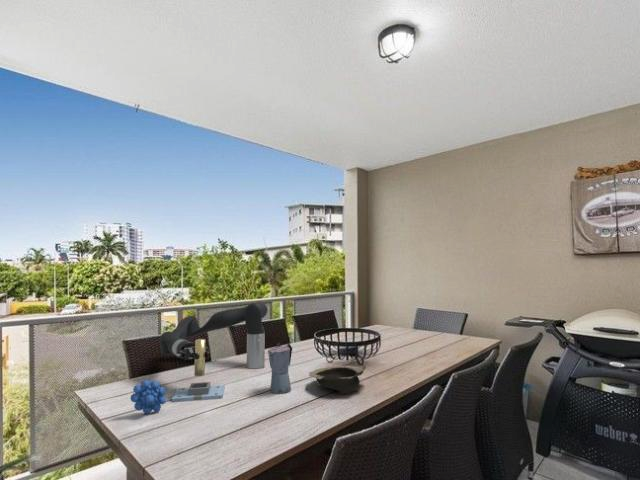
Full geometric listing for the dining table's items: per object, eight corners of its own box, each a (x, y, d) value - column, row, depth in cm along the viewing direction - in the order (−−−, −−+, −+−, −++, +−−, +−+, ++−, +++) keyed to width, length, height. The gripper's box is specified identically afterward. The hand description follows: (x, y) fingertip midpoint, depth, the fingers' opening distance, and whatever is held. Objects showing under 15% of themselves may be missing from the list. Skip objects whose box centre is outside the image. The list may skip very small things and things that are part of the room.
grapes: (130, 422, 118) (131, 385, 119) (129, 414, 124) (130, 380, 125) (167, 414, 124) (168, 380, 125) (165, 408, 130) (166, 374, 131)
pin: (205, 372, 146) (206, 338, 148) (203, 375, 143) (204, 340, 144) (195, 373, 146) (196, 339, 147) (193, 376, 142) (194, 341, 143)
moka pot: (260, 393, 144) (261, 344, 146) (281, 382, 158) (281, 337, 160) (279, 397, 140) (280, 346, 142) (299, 386, 154) (299, 339, 155)
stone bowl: (365, 399, 137) (362, 375, 138) (303, 400, 142) (301, 376, 143) (369, 379, 161) (367, 358, 162) (316, 380, 166) (314, 360, 167)
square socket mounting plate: (224, 388, 151) (224, 379, 152) (222, 398, 140) (222, 388, 140) (178, 391, 148) (178, 382, 148) (171, 401, 136) (172, 392, 136)
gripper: (199, 354, 159) (218, 361, 148) (167, 360, 149) (186, 369, 137) (199, 337, 160) (219, 343, 148) (168, 342, 150) (186, 349, 138)
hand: (203, 355), depth 143 cm, fingers closed on pin, 4 cm apart
